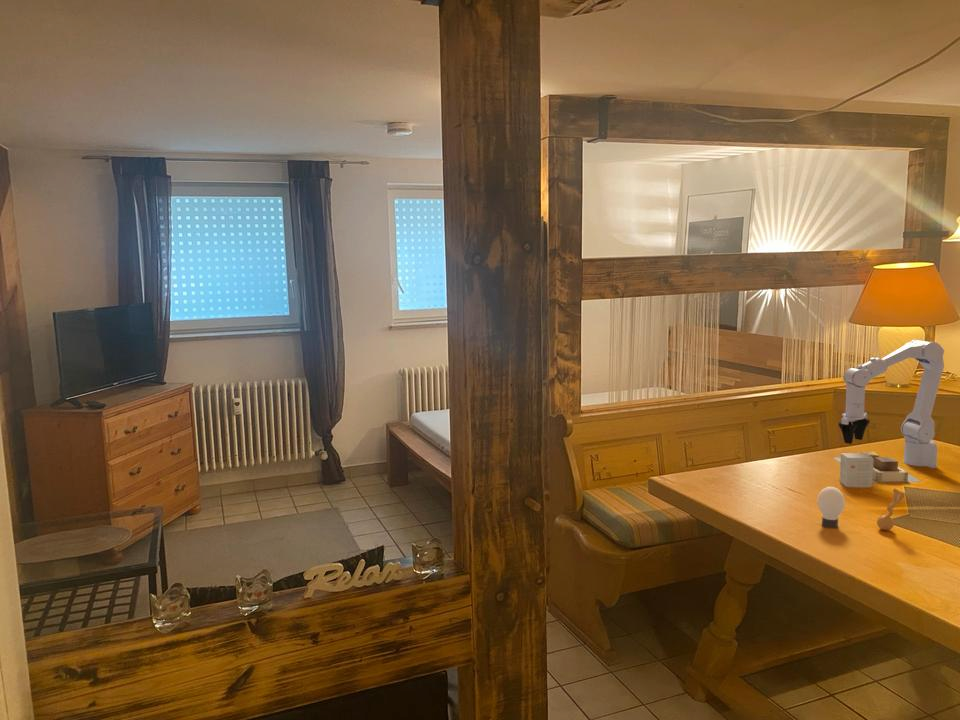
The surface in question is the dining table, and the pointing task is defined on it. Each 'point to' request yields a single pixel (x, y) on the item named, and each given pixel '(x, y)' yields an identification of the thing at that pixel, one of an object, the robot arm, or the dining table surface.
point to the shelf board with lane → (890, 475)
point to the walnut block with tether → (883, 462)
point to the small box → (856, 470)
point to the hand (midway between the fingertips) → (853, 441)
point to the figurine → (885, 520)
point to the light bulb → (830, 506)
